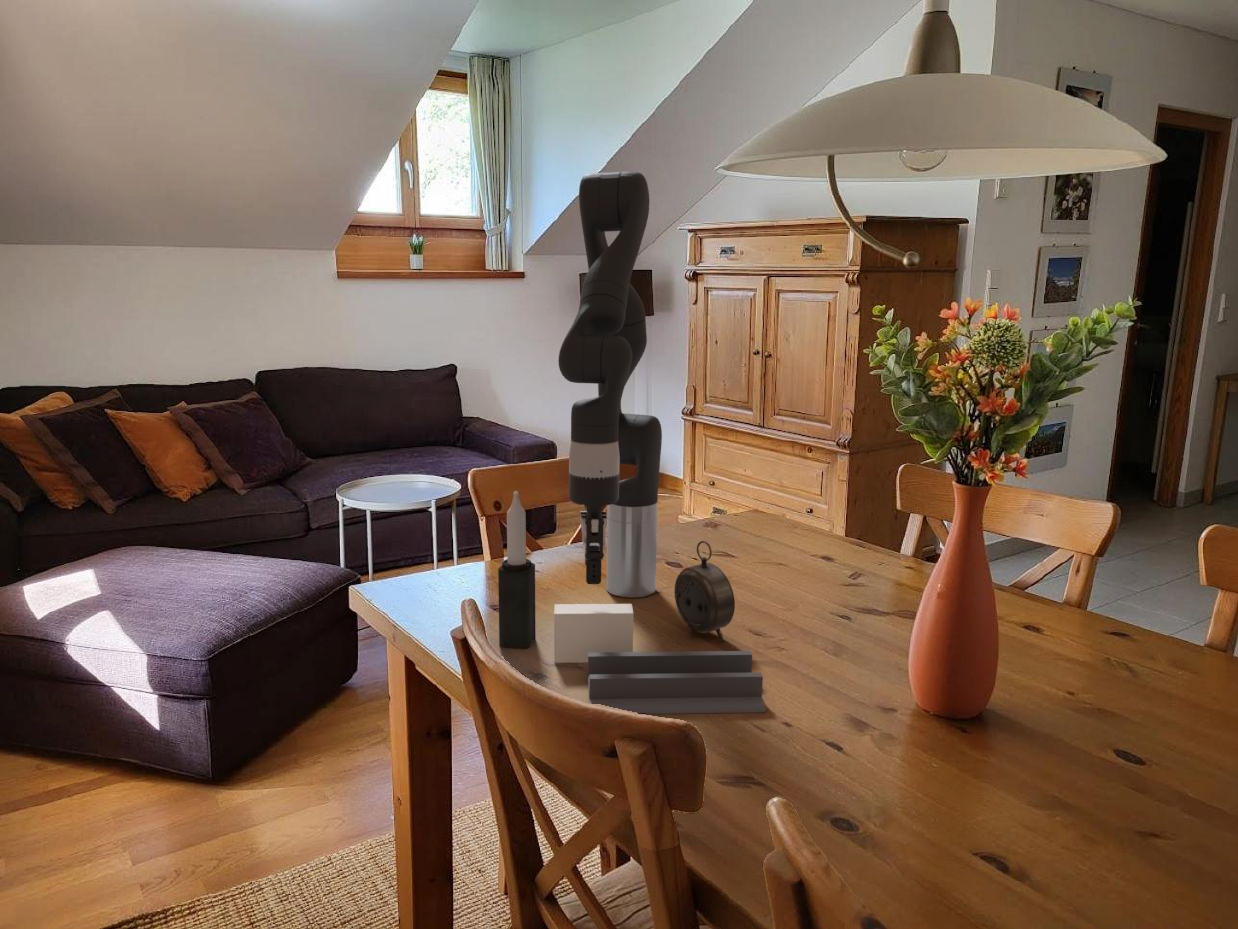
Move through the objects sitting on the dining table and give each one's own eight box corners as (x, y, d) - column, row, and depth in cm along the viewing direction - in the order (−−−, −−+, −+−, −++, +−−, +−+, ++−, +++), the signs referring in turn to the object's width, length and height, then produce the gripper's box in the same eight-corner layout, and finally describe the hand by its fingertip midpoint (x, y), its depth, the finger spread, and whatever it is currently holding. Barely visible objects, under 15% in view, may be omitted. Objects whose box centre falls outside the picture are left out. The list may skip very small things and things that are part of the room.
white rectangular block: (554, 652, 145) (554, 604, 143) (630, 651, 145) (631, 603, 144) (554, 663, 141) (554, 613, 139) (632, 662, 142) (633, 613, 140)
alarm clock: (735, 643, 149) (739, 546, 146) (709, 650, 146) (713, 552, 143) (692, 621, 158) (695, 530, 154) (667, 628, 155) (669, 535, 151)
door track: (587, 670, 138) (587, 645, 137) (745, 668, 140) (747, 643, 139) (589, 714, 124) (590, 687, 124) (765, 712, 126) (766, 685, 125)
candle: (528, 649, 145) (526, 496, 140) (497, 646, 146) (494, 494, 141) (537, 637, 150) (536, 488, 145) (507, 634, 151) (505, 486, 146)
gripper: (622, 480, 130) (619, 590, 133) (616, 461, 144) (615, 560, 147) (568, 480, 130) (568, 590, 133) (568, 460, 144) (568, 560, 147)
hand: (592, 574), depth 140 cm, fingers open, 8 cm apart
